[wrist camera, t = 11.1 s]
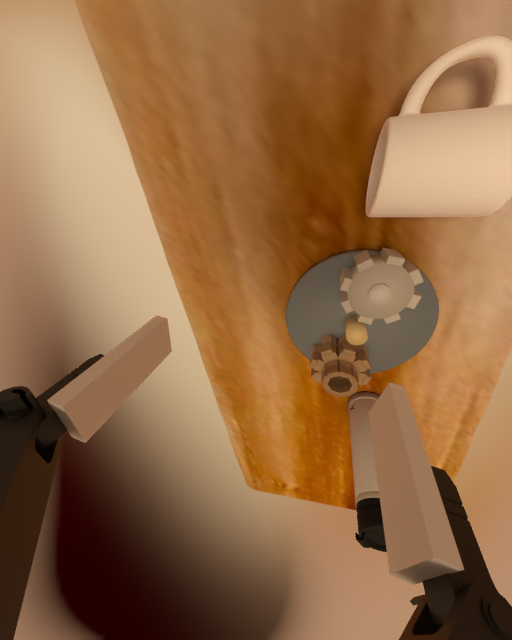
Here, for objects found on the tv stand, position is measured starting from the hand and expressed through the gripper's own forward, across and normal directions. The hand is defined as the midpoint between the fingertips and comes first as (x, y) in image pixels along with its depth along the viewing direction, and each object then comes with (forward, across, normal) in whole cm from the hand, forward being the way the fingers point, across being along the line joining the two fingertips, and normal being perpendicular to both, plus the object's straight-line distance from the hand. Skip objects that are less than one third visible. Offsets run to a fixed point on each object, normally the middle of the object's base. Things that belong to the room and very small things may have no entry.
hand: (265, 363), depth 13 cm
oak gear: (+20, +9, -14) cm, 26 cm away
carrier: (+22, +9, -8) cm, 25 cm away
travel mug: (+22, +17, -24) cm, 37 cm away
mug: (+23, +9, +13) cm, 28 cm away
